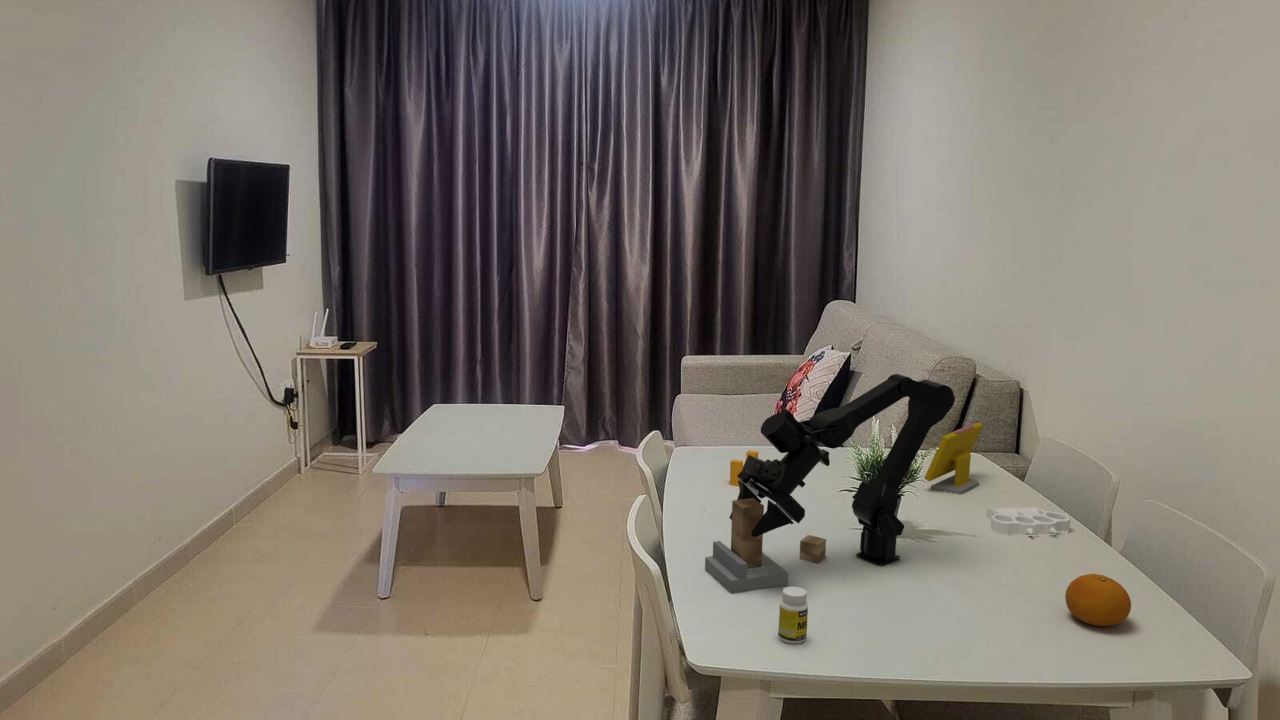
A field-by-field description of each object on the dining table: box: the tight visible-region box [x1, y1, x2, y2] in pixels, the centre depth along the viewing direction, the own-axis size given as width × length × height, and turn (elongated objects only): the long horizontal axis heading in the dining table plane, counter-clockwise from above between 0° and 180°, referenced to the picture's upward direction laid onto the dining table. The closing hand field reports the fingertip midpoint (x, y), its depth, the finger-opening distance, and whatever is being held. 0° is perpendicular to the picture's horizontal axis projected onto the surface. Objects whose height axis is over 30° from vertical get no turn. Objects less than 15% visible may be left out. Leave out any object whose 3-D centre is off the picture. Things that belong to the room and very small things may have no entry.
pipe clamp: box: [729, 450, 759, 487], centre depth 241 cm, size 12×4×6 cm, turn 150°
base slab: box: [704, 540, 789, 594], centre depth 181 cm, size 12×12×6 cm
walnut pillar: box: [730, 498, 765, 569], centre depth 180 cm, size 4×4×12 cm
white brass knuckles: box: [985, 505, 1071, 535], centre depth 210 cm, size 3×18×15 cm
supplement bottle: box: [777, 586, 809, 645], centre depth 156 cm, size 5×5×8 cm
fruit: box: [1064, 573, 1132, 627], centre depth 164 cm, size 10×10×8 cm
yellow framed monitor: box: [924, 422, 984, 495], centre depth 238 cm, size 20×8×16 cm, turn 136°
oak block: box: [799, 534, 827, 564], centre depth 191 cm, size 4×4×4 cm
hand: (741, 527), depth 179 cm, fingers open, 9 cm apart
